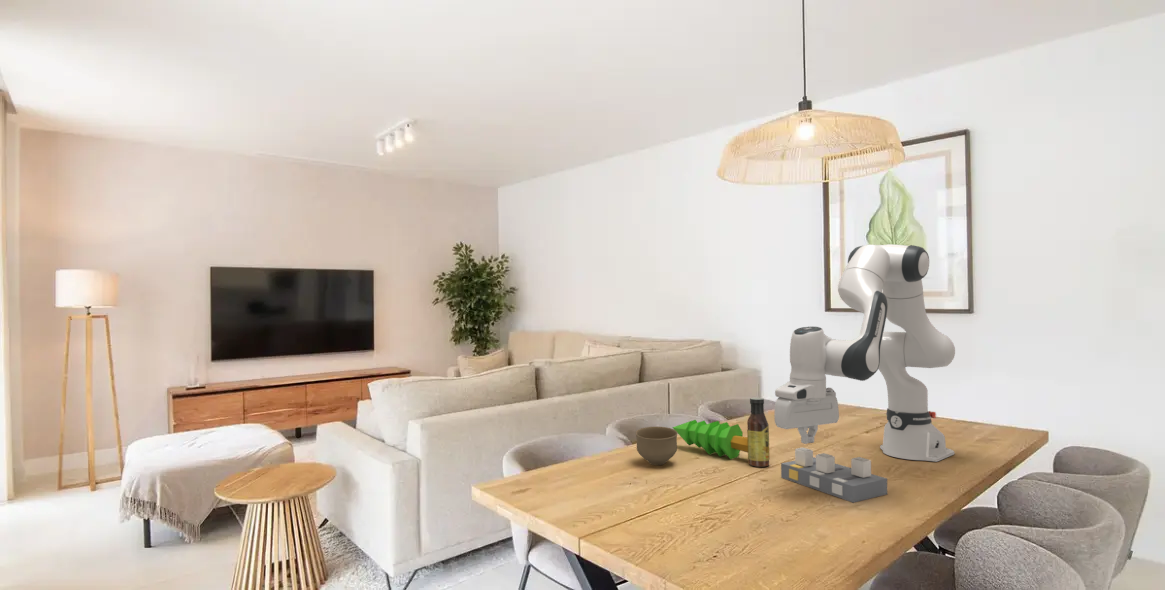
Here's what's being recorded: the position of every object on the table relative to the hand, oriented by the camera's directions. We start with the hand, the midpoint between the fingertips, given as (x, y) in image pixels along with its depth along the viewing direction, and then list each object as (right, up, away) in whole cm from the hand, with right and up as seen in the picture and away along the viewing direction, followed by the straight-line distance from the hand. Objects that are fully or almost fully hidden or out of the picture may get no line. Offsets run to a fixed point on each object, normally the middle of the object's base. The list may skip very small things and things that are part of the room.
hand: (807, 442), depth 153 cm
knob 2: (+6, -8, +3) cm, 11 cm away
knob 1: (+3, -8, +10) cm, 13 cm away
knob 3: (+14, -8, 0) cm, 16 cm away
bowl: (-36, -13, +26) cm, 46 cm away
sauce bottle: (-5, -13, +24) cm, 28 cm away
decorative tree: (-16, -13, +38) cm, 43 cm away
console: (+8, -13, +4) cm, 16 cm away
